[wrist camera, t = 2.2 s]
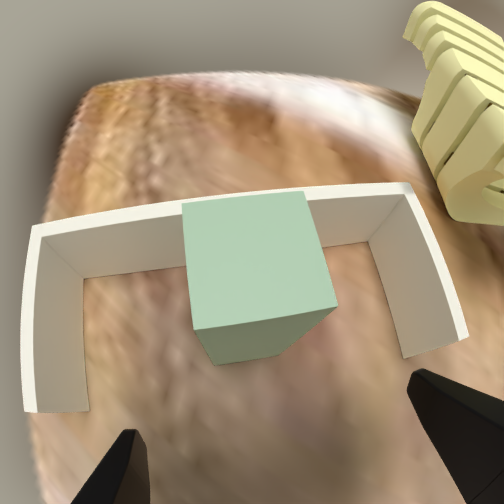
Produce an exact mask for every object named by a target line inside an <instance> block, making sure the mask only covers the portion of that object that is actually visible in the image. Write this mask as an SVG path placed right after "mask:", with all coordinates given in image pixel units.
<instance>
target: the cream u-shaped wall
mask: <svg viewBox="0 0 504 504" xmlns="http://www.w3.org/2000/svg"><path fill="white" fill-rule="evenodd" d="M292 191H304V194H305V197H306V200H307V203H308V206H309V209H310V212H311V215H312V218H313V221H314V225H315V228H316V231H317V234H318V237H319V241H320V244H321V247H322V248H323V247H331V246H338V245H345V244H353V243H360V242H367V241H368V244H369V246H370V249H371V252H372V255H373V258H374V261H375V263H376V266H377V269H378V272H379V275H380V278H381V282H382V285H383V288H384V291H385V294H386V298H387V301H388V304H389V308H390V311H391V314H392V318H393V321H394V325H395V329H396V332H397V336H398V340H399V344H400V348H401V352H402V356H403V359H405V358H409V357H412V356H415V355H419V354H422V353H425V352H428V351H431V350H434V349H437V348H440V347H443V346H446V345H449V344H452V343H455V342H458V341H460V340H462V339H464V338H466V337H469V334H468V330H467V327H466V323H465V320H464V316H463V313H462V310H461V306H460V303H459V300H458V297H457V294H456V291H455V288H454V285H453V282H452V279H451V276H450V274H449V271H448V268H447V266H446V263H445V260H444V258H443V255H442V253H441V250H440V248H439V245H438V243H437V240H436V238H435V236H434V233H433V231H432V229H431V227H430V224H429V222H428V220H427V218H426V216H425V213H424V211H423V209H422V207H421V205H420V203H419V201H418V199H417V197H416V195H415V193H414V191H413V189H412V187H411V185H410V183H409V182H401V183H369V184H347V185H329V186H314V187H300V188H287V189H275V190H264V191H254V192H244V193H234V194H225V195H216V196H208V197H200V198H192V199H184V200H176V201H169V202H162V203H155V204H148V205H142V206H135V207H129V208H123V209H117V210H111V211H105V212H99V213H94V214H88V215H83V216H78V217H72V218H67V219H62V220H57V221H52V222H48V223H43V224H39V225H33V226H32V230H31V236H30V242H29V247H28V254H27V260H26V268H25V276H24V285H23V297H22V312H21V378H22V392H23V402H24V411H26V412H34V413H67V412H88V411H90V408H89V401H88V392H87V382H86V371H85V357H84V336H83V284H84V279H86V278H94V277H102V276H110V275H118V274H126V273H133V272H141V271H149V270H157V269H165V268H172V267H180V266H186V255H185V244H184V232H183V219H182V204H181V203H189V202H196V201H204V200H213V199H221V198H230V197H239V196H249V195H259V194H270V193H281V192H292Z"/></svg>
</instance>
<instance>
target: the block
mask: <svg viewBox="0 0 504 504" xmlns="http://www.w3.org/2000/svg"><path fill="white" fill-rule="evenodd" d="M181 204H182V219H183V232H184V244H185V255H186V266H187V276H188V285H189V295H190V303H191V312H192V320H193V327H194V331H195V333H196V335H197V337H198V338H199V340H200V342H201V344H202V345H203V347H204V349H205V351H206V352H207V354H208V356H209V358H210V359H211V361H212V363H213V365H214V366H216V365H223V364H230V363H237V362H243V361H249V360H255V359H261V358H267V357H272V356H277V355H279V354H280V353H282V352H283V351H284V350H286V349H287V348H288V347H289V346H291V345H292V344H293V343H294V342H296V341H297V340H298V339H299V338H301V337H302V336H303V335H304V334H306V333H307V332H308V331H309V330H311V329H312V328H313V327H314V326H315V325H317V324H318V323H319V322H320V321H321V320H322V319H324V318H325V317H326V316H327V315H328V314H330V313H331V312H332V311H333V310H334V309H335V308H337V307H338V303H337V299H336V296H335V292H334V289H333V285H332V281H331V278H330V274H329V271H328V267H327V264H326V261H325V257H324V254H323V250H322V247H321V244H320V241H319V237H318V234H317V231H316V228H315V225H314V221H313V218H312V215H311V212H310V209H309V206H308V203H307V200H306V197H305V194H304V191H292V192H281V193H270V194H259V195H249V196H239V197H230V198H221V199H213V200H204V201H196V202H189V203H181Z"/></svg>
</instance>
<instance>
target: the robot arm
mask: <svg viewBox="0 0 504 504" xmlns="http://www.w3.org/2000/svg"><path fill="white" fill-rule="evenodd" d="M407 394H408V396H409V398H410V400H411V403H412V405H413V407H414V409H415V411H416V413H417V416H418V418H419V420H420V422H421V424H422V426H423V428H424V430H425V431H426V433H427V435H428V437H429V438H430V440H431V442H432V443H433V445H434V447H435V448H436V450H437V452H438V454H439V455H440V457H441V459H442V460H443V462H444V464H445V466H446V467H447V469H448V471H449V473H450V475H451V476H452V478H453V480H454V482H455V484H456V485H457V487H458V489H459V491H460V493H461V495H462V496H463V498H464V500H465V502H466V504H504V401H502V400H500V399H498V398H495V397H493V396H490V395H487V394H485V393H482V392H480V391H477V390H475V389H472V388H470V387H467V386H465V385H462V384H460V383H457V382H455V381H453V380H450V379H448V378H445V377H443V376H440V375H438V374H436V373H433V372H431V371H428V370H426V369H423V368H422V369H419V370H416V371H414V372H413V373H412V374H411V377H410V380H409V383H408V386H407ZM71 504H150V482H149V472H148V460H147V448H146V445H145V442H144V441H143V439H142V437H141V435H140V434H139V432H138V430H136V429H124V430H123V431H122V432H121V434H120V435H119V436H118V438H117V439H116V441H115V442H114V443H113V445H112V446H111V448H110V449H109V450H108V452H107V453H106V455H105V456H104V457H103V459H102V460H101V462H100V463H99V464H98V466H97V467H96V469H95V470H94V471H93V473H92V474H91V476H90V477H89V478H88V480H87V481H86V483H85V484H84V486H83V487H82V488H81V490H80V491H79V493H78V494H77V495H76V497H75V498H74V500H73V501H72V502H71Z"/></svg>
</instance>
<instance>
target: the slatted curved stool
mask: <svg viewBox="0 0 504 504" xmlns="http://www.w3.org/2000/svg"><path fill="white" fill-rule="evenodd" d="M403 38H404V39H406V40H408V41H411V42H413V44H414V45H415V46H416V47H417V48H418V49H419V50H420V51H423V54H422V56H423V58H424V61H425V65H426V69H427V70H430V71H431V72H430V74H429V77H428V78H427V80H426V83H425V88H424V92H423V96H422V99H421V103H420V106H419V109H418V111H417V114H416V116H415V118H414V120H413V123H412V127H411V130H412V133H413V135H414V137H415V139H416V141H417V143H418V145H419V147H420V149H421V150H422V152H423V155H424V157H425V159H426V161H427V163H428V165H429V168H430V170H431V172H432V174H433V177H434V179H435V181H436V182H437V186H438V188H439V191H440V193H441V196H442V198H443V201H444V203H445V206H446V209H447V211H448V213H449V215H450V216H451V217H452V218H453V219H454V220H456V221H459V222H469V223H479V224H489V225H499V226H504V42H503V40H502V38H501V37H500V36H498V35H497V34H495V33H494V32H492V31H491V30H489V29H487V28H486V27H484V26H483V25H481V24H479V23H478V22H476V21H474V20H472V19H470V18H469V17H467V16H465V15H464V14H462V13H460V12H458V11H456V10H454V9H452V8H450V7H448V6H446V5H444V4H442V3H440V2H436V1H428V2H424V3H421V4H420V5H418V6H417V7H416V8H415V9H414V10H413V12H412V14H411V16H410V19H409V21H408V24H407V27H406V29H405V32H404V35H403Z"/></svg>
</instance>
